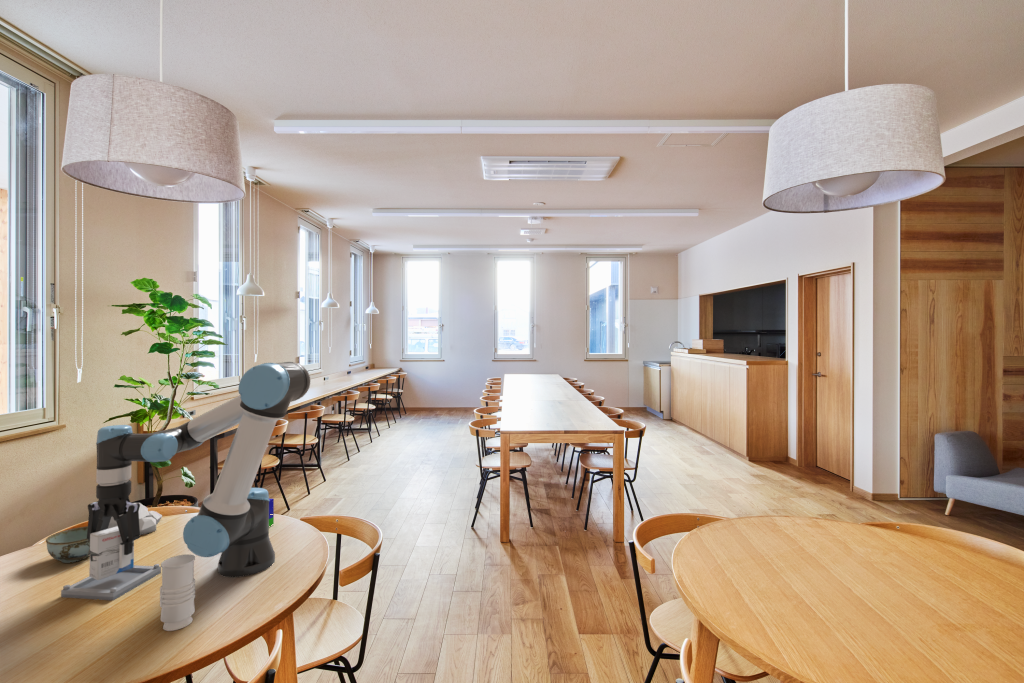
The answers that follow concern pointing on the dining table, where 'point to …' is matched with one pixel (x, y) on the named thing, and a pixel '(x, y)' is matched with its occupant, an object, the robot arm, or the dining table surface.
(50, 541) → the bowl
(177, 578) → the white ribbed cylinder
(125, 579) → the grey square tray
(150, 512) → the rock
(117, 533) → the ink box
